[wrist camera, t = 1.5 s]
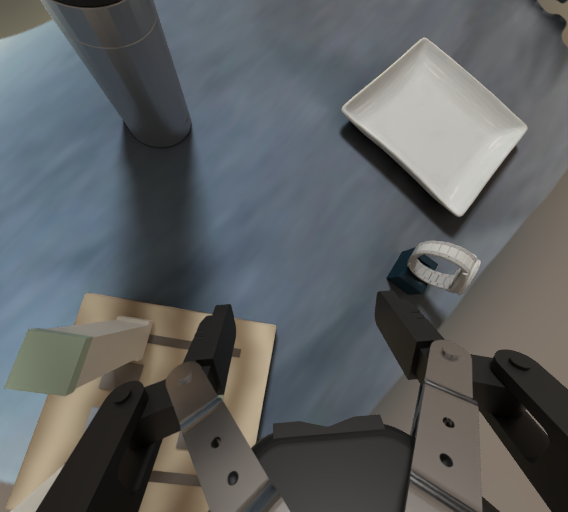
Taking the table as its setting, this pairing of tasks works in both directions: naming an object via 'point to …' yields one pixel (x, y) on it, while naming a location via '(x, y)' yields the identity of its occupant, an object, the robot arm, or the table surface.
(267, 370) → the switch board
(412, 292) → the watch
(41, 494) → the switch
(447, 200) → the square plate
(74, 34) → the robot arm
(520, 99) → the table surface
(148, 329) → the tall beige block
